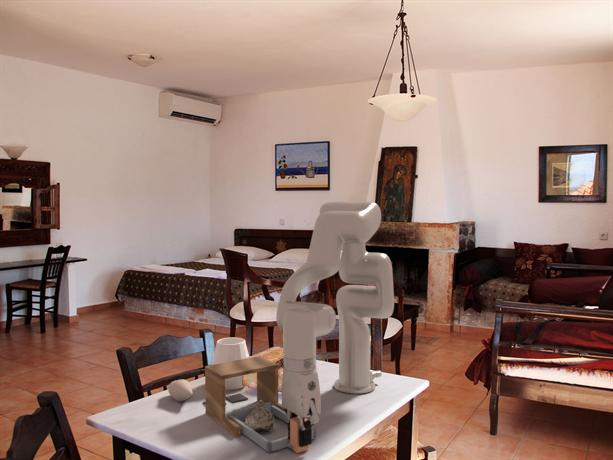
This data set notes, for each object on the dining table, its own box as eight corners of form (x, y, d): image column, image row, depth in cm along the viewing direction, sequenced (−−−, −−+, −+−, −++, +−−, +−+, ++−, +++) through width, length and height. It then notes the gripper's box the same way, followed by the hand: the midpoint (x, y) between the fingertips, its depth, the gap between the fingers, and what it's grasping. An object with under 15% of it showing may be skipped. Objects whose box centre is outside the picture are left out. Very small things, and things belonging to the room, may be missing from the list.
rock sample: (227, 412, 140) (253, 389, 141) (242, 423, 145) (267, 400, 146) (243, 442, 133) (271, 418, 133) (259, 453, 138) (285, 429, 138)
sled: (272, 411, 149) (272, 386, 149) (325, 444, 130) (325, 415, 129) (228, 423, 142) (228, 396, 141) (278, 459, 122) (278, 428, 122)
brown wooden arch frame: (247, 392, 165) (247, 350, 164) (294, 420, 144) (294, 372, 143) (194, 405, 155) (193, 359, 154) (236, 436, 134) (236, 384, 134)
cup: (225, 395, 163) (225, 348, 162) (201, 384, 173) (200, 340, 172) (261, 385, 172) (261, 341, 171) (236, 375, 182) (236, 333, 181)
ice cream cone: (192, 410, 151) (173, 402, 163) (207, 392, 154) (187, 386, 166) (177, 395, 149) (159, 389, 162) (192, 377, 152) (173, 372, 165)
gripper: (334, 369, 121) (334, 451, 122) (293, 352, 135) (293, 425, 136) (306, 376, 117) (306, 460, 118) (266, 357, 130) (267, 433, 131)
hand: (299, 441), depth 127 cm, fingers open, 3 cm apart
